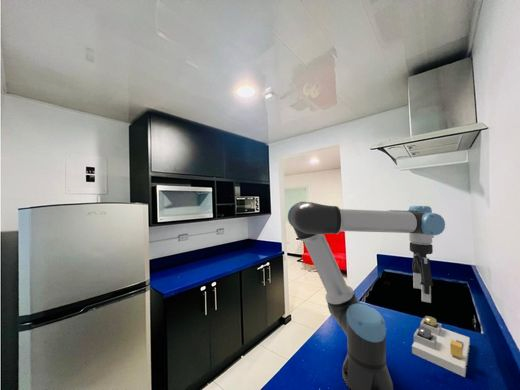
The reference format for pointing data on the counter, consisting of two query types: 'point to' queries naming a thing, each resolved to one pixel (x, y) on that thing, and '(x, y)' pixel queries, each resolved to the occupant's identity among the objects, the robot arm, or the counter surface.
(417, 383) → the counter surface
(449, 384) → the counter surface
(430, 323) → the brass button
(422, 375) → the counter surface
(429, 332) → the grey button
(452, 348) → the slider knob
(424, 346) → the console
